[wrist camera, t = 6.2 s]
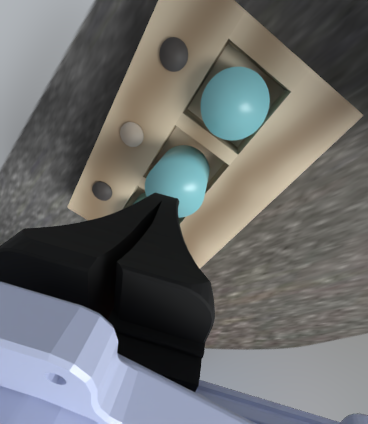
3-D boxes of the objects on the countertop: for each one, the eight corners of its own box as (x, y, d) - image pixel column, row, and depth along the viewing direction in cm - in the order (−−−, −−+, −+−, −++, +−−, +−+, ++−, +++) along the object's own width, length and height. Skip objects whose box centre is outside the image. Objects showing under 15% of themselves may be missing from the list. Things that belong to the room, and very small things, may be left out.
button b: (220, 165, 18) (217, 186, 15) (190, 201, 20) (182, 227, 17) (177, 134, 17) (164, 148, 14) (151, 174, 19) (134, 195, 16)
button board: (342, 108, 17) (365, 115, 14) (190, 260, 27) (186, 282, 25) (189, -26, 15) (179, -50, 12) (84, 193, 25) (65, 208, 22)
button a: (274, 92, 17) (285, 96, 13) (236, 138, 19) (237, 153, 15) (229, 54, 16) (229, 49, 13) (196, 107, 18) (187, 114, 15)
